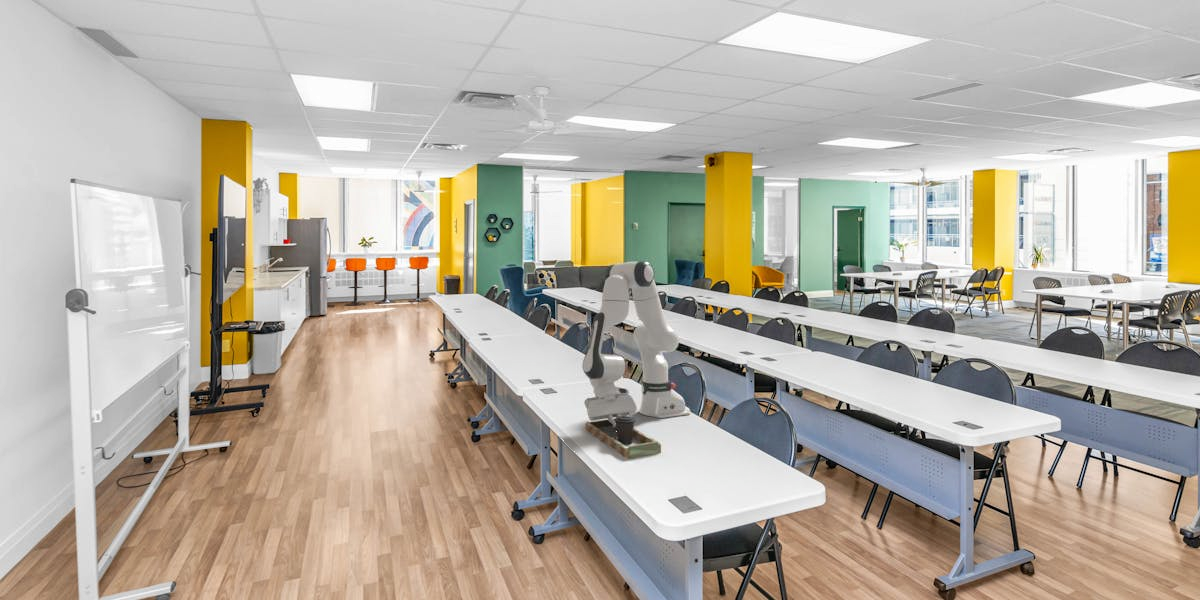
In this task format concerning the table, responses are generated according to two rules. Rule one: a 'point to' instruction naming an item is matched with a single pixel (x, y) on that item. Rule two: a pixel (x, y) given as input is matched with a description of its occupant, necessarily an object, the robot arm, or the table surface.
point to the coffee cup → (625, 429)
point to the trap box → (631, 451)
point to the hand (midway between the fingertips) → (617, 426)
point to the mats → (609, 430)
